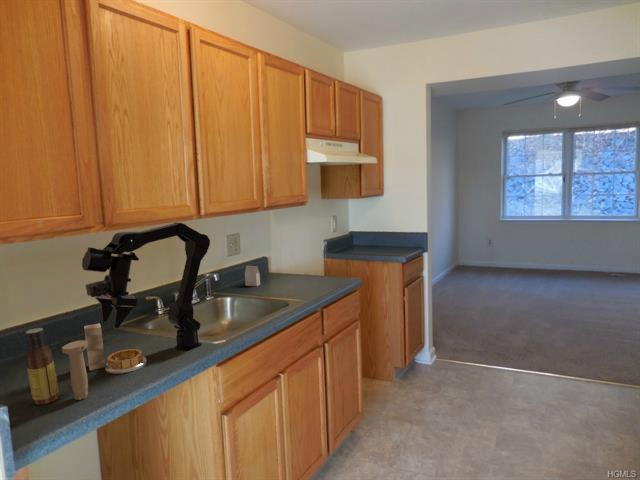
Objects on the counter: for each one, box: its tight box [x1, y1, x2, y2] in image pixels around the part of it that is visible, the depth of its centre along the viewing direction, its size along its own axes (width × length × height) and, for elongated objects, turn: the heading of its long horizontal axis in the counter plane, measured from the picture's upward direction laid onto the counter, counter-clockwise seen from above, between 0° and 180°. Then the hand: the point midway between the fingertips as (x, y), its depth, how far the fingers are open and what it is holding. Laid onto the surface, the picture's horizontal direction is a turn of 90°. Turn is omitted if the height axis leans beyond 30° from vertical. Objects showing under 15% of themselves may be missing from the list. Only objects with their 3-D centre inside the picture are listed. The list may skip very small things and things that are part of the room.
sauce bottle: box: [24, 327, 60, 406], centre depth 126 cm, size 7×6×20 cm
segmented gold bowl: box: [104, 348, 148, 375], centre depth 148 cm, size 12×12×4 cm
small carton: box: [244, 265, 261, 287], centre depth 247 cm, size 4×7×10 cm, turn 68°
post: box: [83, 323, 106, 371], centre depth 148 cm, size 4×4×13 cm
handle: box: [61, 339, 89, 401], centre depth 127 cm, size 5×6×15 cm
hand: (110, 324), depth 143 cm, fingers open, 9 cm apart
